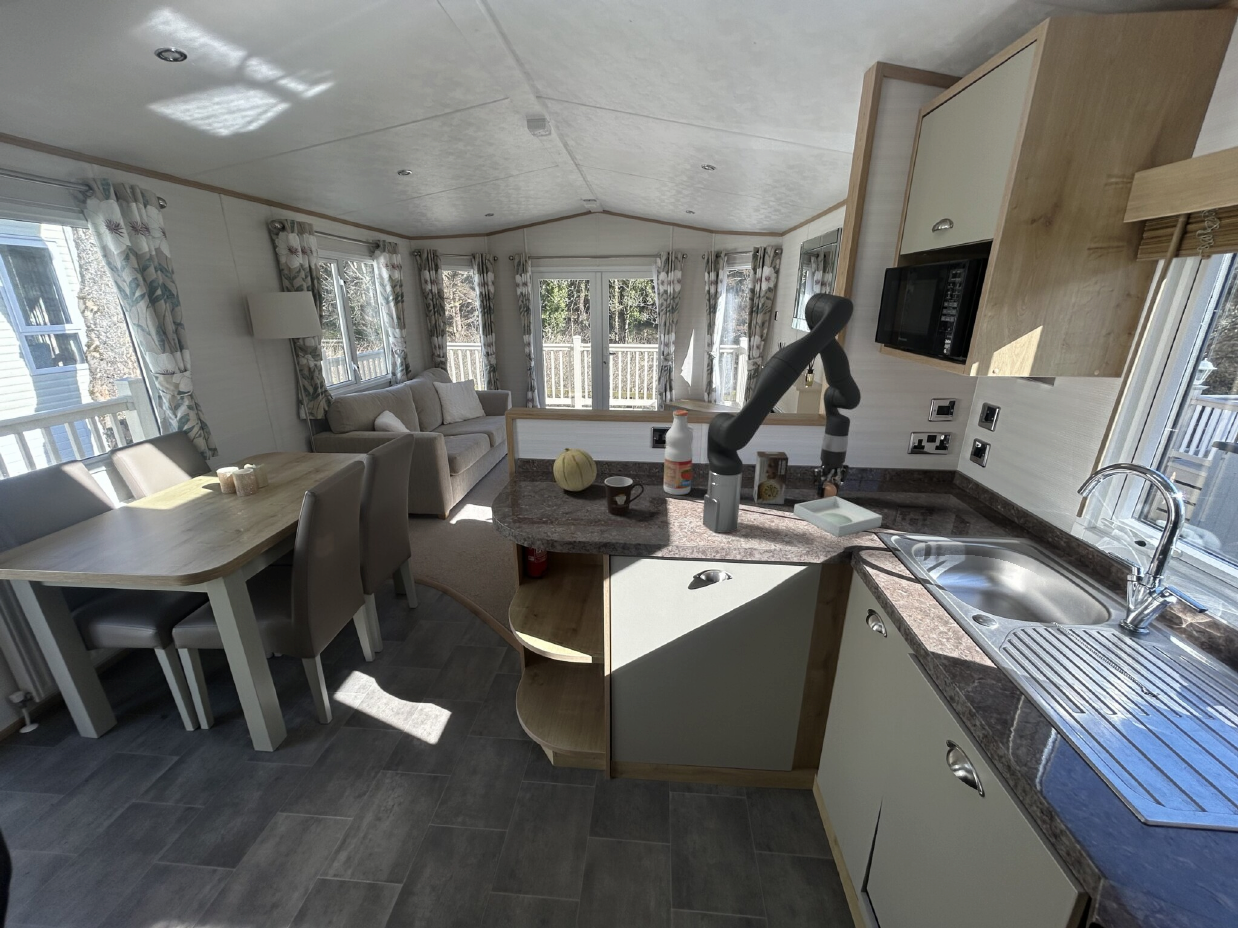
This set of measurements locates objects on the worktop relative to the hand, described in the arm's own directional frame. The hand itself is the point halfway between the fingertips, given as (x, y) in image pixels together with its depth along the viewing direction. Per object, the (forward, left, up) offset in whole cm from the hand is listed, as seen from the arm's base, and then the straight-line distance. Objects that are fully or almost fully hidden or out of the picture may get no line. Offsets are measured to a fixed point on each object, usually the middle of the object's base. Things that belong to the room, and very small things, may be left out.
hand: (827, 495), depth 166 cm
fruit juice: (-42, +27, -1) cm, 50 cm away
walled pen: (-11, -14, -1) cm, 18 cm away
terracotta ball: (0, 0, +2) cm, 2 cm away
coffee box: (-19, +7, -1) cm, 20 cm away
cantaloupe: (-74, +42, -1) cm, 85 cm away
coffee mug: (-67, +18, -1) cm, 69 cm away
